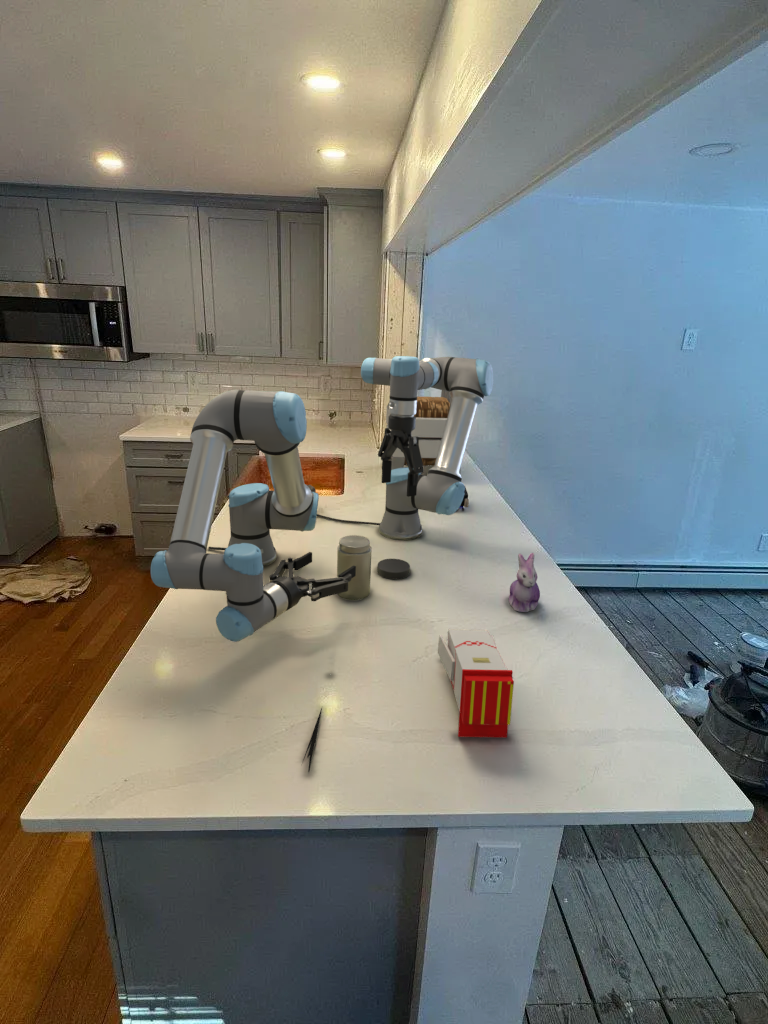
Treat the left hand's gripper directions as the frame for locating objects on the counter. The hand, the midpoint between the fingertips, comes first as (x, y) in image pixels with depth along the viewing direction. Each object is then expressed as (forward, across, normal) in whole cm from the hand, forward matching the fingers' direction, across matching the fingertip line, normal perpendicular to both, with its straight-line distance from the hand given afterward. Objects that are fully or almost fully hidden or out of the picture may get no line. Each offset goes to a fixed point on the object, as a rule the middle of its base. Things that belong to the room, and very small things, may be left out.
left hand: (332, 563), depth 145 cm
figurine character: (+96, -6, -14) cm, 97 cm away
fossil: (+52, -53, -14) cm, 76 cm away
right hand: (+29, +2, +13) cm, 32 cm away
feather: (-36, +23, -12) cm, 45 cm away
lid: (+28, +3, -11) cm, 30 cm away
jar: (+10, 0, -13) cm, 16 cm away
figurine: (+31, +42, -13) cm, 54 cm away
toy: (-12, +44, -12) cm, 47 cm away
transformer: (+130, -41, -15) cm, 137 cm away
